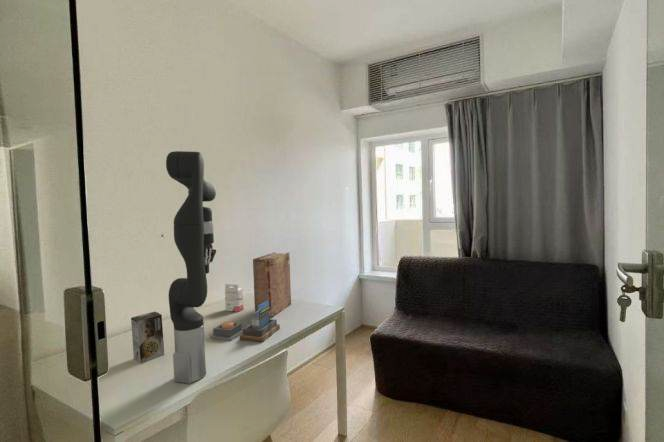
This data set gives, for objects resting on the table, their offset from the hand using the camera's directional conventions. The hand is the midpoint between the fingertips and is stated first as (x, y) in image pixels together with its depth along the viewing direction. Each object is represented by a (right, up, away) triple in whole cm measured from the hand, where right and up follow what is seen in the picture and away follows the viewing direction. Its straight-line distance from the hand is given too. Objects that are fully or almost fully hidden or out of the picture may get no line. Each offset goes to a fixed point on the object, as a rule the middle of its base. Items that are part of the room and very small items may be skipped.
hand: (205, 273), depth 147 cm
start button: (+7, -27, +8) cm, 29 cm away
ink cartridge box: (0, -27, +45) cm, 52 cm away
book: (+22, -27, +42) cm, 54 cm away
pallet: (+22, -28, +7) cm, 36 cm away
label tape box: (+22, -26, +7) cm, 35 cm away
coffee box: (-17, -30, -13) cm, 37 cm away
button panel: (+7, -29, +8) cm, 30 cm away
